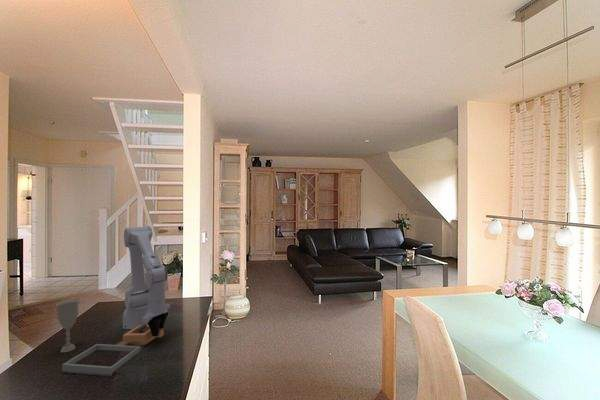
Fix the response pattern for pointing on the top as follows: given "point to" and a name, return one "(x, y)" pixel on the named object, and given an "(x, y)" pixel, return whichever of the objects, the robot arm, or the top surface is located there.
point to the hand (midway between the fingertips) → (157, 334)
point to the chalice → (67, 319)
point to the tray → (99, 370)
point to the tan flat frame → (140, 335)
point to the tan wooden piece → (141, 344)
